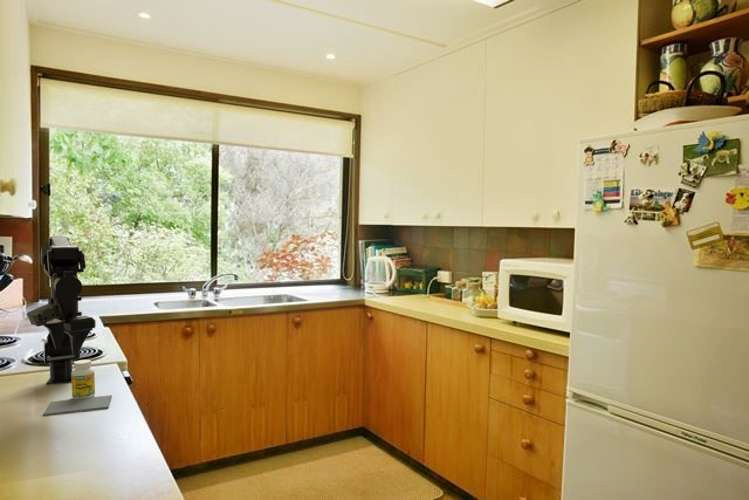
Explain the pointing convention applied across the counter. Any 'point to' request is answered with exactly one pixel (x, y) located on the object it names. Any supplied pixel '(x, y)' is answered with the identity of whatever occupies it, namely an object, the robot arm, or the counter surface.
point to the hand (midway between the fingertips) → (66, 351)
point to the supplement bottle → (83, 380)
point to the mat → (78, 405)
